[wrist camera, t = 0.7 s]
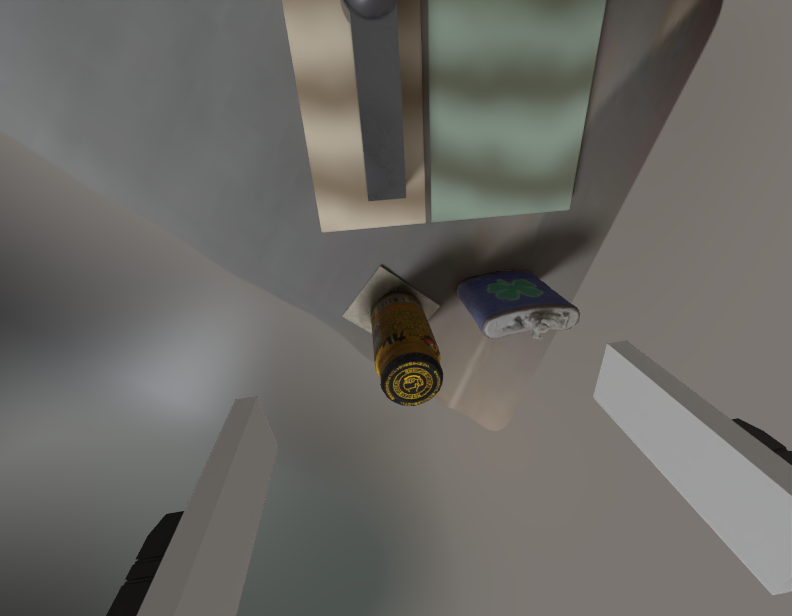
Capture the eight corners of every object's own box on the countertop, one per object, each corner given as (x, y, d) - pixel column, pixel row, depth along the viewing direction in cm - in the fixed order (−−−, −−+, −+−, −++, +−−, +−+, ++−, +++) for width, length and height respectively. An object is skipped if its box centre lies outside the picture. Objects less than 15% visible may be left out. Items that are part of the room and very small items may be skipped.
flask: (455, 299, 37) (490, 353, 27) (455, 276, 36) (492, 323, 26) (533, 289, 38) (593, 338, 28) (535, 265, 36) (600, 308, 27)
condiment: (401, 349, 39) (418, 425, 29) (342, 315, 36) (336, 386, 26) (439, 305, 37) (473, 369, 26) (380, 265, 34) (391, 319, 23)
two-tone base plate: (268, -103, 22) (229, -213, 15) (608, -110, 23) (710, -211, 17) (323, 227, 32) (315, 249, 25) (557, 206, 33) (608, 221, 27)
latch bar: (335, -41, 21) (331, -78, 18) (395, -43, 22) (403, -80, 18) (361, 195, 28) (362, 203, 25) (406, 191, 29) (413, 198, 25)
